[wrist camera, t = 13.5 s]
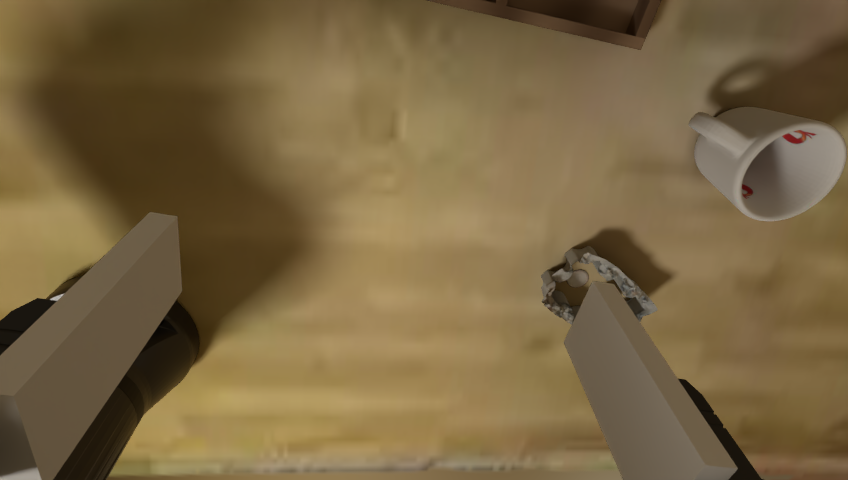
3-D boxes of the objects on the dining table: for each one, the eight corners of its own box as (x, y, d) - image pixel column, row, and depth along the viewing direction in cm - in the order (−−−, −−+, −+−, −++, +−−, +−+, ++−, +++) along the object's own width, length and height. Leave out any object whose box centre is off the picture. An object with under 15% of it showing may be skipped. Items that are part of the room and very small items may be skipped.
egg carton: (528, 279, 48) (537, 303, 45) (585, 232, 46) (600, 254, 42) (590, 330, 52) (604, 356, 49) (646, 289, 50) (665, 314, 46)
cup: (638, 145, 41) (685, 181, 34) (703, 61, 38) (771, 82, 31) (724, 195, 44) (784, 238, 37) (792, 121, 41) (872, 152, 34)
